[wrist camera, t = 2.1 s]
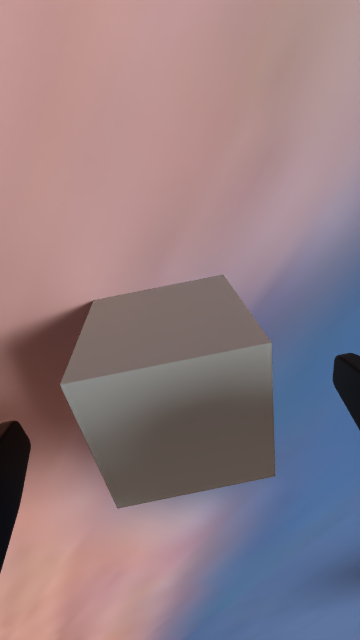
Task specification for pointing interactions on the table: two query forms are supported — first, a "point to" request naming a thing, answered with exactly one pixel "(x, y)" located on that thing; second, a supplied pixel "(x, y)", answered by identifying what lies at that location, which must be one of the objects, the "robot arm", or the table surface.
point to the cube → (173, 391)
